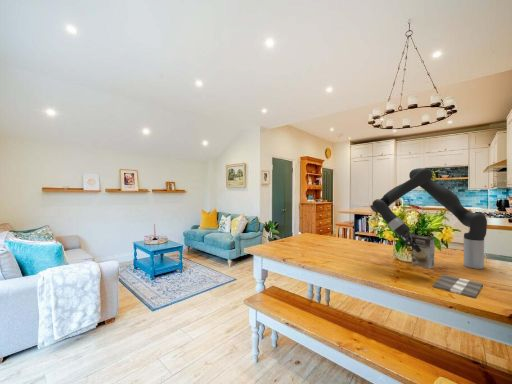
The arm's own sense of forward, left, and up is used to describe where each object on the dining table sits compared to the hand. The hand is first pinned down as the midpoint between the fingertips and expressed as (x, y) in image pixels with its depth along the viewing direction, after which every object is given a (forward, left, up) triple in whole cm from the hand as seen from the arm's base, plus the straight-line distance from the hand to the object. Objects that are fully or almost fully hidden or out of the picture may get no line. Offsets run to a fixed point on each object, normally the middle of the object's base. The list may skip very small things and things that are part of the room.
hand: (422, 250), depth 131 cm
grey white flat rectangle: (0, +16, -15) cm, 22 cm away
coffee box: (0, 0, -9) cm, 9 cm away
